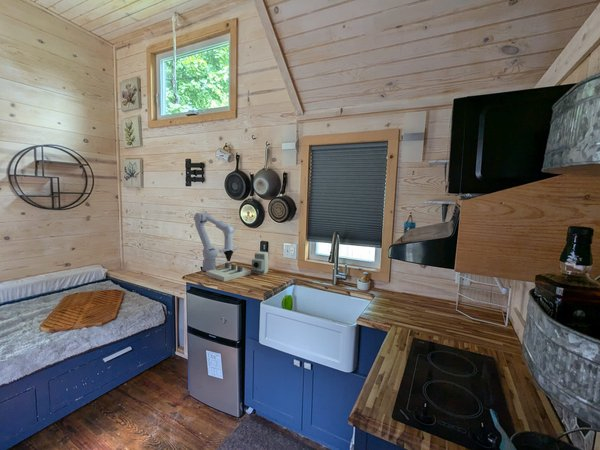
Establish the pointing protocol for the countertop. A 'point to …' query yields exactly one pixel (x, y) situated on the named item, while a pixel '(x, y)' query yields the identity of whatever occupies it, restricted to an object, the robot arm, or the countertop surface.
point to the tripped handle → (233, 266)
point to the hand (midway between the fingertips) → (228, 260)
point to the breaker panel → (228, 272)
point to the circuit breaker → (260, 262)
